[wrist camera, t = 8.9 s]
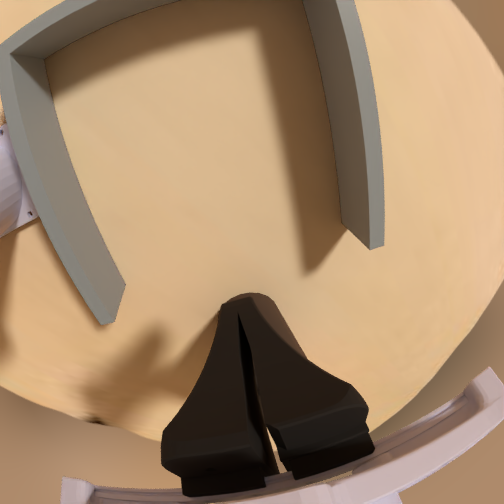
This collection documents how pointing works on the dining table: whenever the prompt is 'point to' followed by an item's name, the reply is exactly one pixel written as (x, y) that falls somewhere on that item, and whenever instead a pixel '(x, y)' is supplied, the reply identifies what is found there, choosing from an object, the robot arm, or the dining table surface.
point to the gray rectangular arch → (61, 169)
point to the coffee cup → (271, 322)
